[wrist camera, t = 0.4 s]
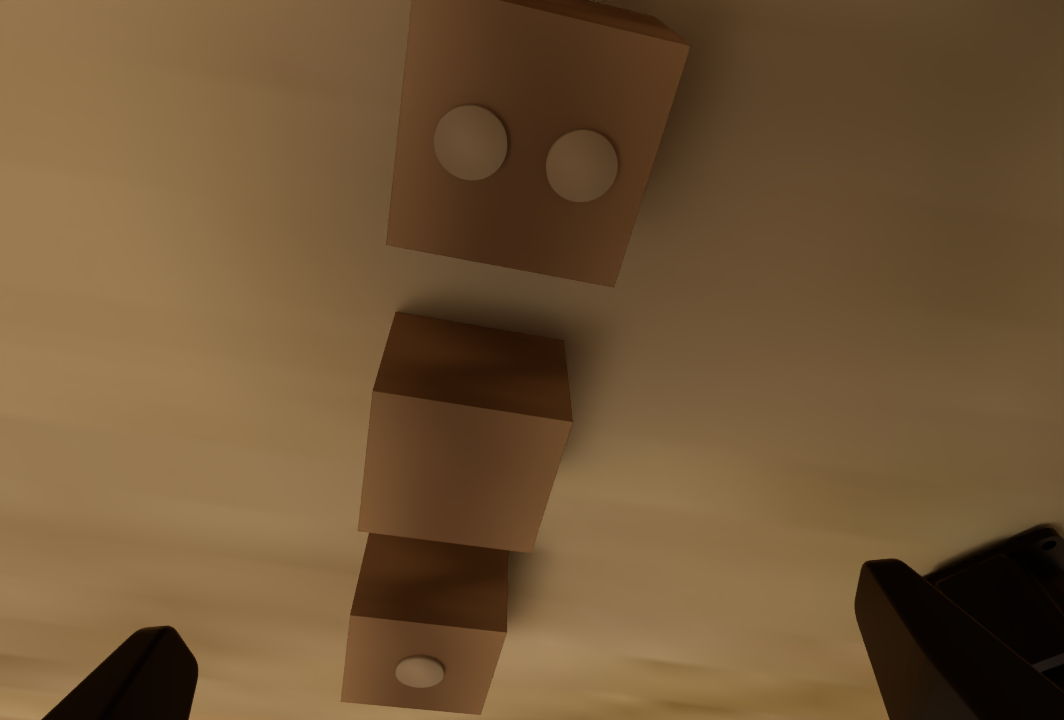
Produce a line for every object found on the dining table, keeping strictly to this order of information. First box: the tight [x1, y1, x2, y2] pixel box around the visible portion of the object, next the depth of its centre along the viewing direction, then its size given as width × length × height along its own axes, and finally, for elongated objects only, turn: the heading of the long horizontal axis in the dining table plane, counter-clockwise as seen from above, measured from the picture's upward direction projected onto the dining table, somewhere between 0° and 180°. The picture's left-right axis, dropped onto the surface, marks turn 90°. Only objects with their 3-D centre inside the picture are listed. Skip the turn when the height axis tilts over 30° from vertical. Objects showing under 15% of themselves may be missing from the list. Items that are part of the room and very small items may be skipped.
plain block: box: [358, 312, 573, 553], centre depth 20 cm, size 5×5×4 cm
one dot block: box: [341, 533, 508, 715], centre depth 25 cm, size 5×5×4 cm
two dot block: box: [386, 0, 691, 287], centre depth 15 cm, size 5×5×4 cm
